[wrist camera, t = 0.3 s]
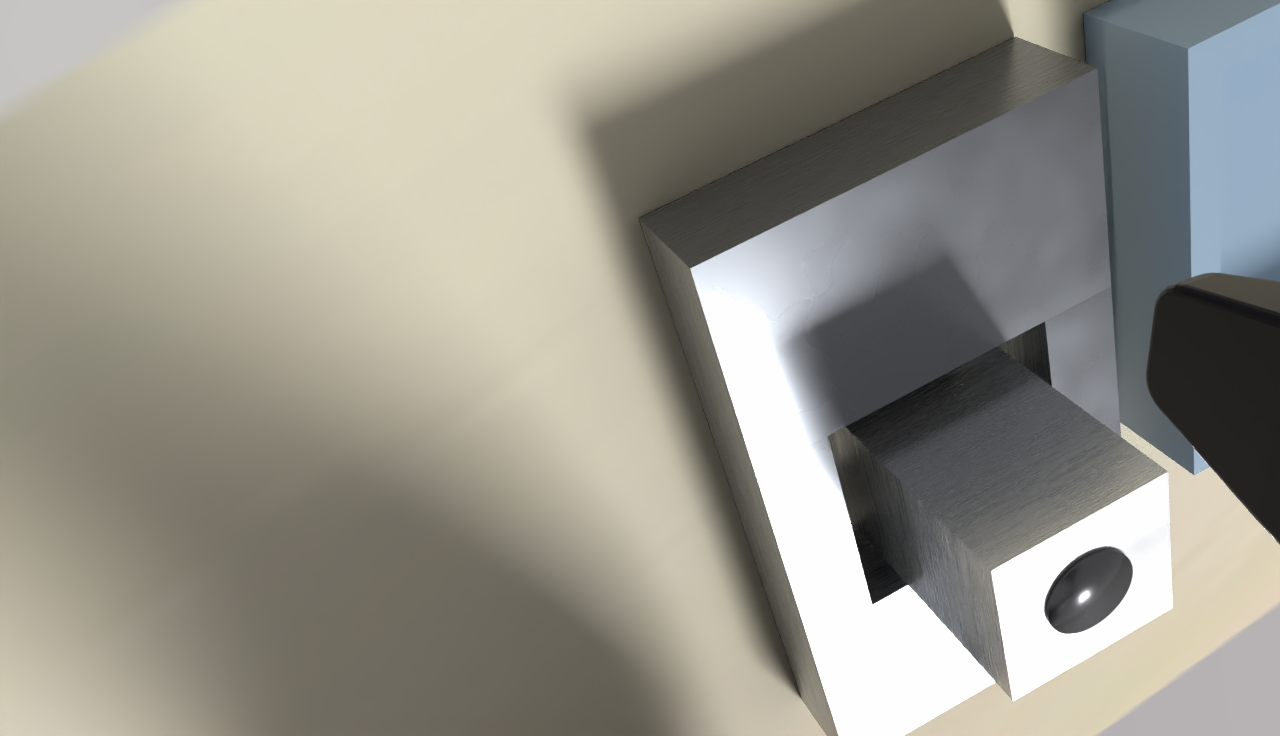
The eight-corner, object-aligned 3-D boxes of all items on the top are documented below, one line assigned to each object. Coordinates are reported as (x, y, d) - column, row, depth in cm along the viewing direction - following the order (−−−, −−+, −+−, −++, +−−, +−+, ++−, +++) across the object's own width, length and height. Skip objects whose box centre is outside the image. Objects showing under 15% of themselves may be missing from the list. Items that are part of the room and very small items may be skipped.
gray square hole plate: (1070, 548, 34) (1131, 603, 32) (802, 700, 33) (848, 767, 31) (1016, 36, 25) (1097, 67, 23) (638, 218, 23) (690, 268, 21)
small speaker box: (971, 436, 30) (1176, 610, 24) (838, 508, 30) (1016, 704, 24) (951, 312, 28) (1172, 474, 22) (806, 388, 27) (995, 573, 22)
